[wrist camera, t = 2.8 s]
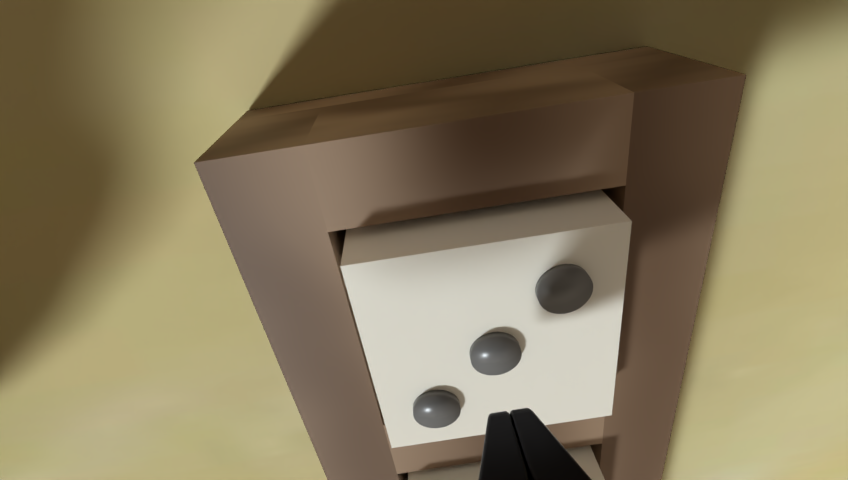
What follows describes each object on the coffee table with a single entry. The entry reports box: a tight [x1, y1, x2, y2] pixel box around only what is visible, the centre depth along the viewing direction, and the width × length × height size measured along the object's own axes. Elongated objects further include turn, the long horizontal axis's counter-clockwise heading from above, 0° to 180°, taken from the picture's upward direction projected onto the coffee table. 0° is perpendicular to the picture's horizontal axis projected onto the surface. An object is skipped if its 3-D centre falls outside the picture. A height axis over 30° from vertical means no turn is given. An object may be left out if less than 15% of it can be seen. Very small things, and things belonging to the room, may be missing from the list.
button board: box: [194, 46, 746, 480], centre depth 18 cm, size 11×29×4 cm, turn 8°
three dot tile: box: [340, 189, 632, 448], centre depth 12 cm, size 6×6×3 cm
